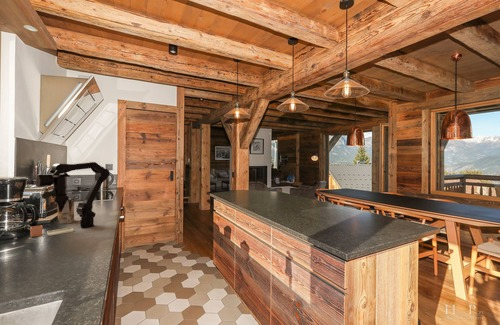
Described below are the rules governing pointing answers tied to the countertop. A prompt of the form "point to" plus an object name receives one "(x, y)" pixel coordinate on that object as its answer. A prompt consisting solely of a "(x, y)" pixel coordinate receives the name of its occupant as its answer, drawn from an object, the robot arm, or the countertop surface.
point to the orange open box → (36, 231)
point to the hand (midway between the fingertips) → (60, 211)
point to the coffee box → (68, 212)
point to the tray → (60, 231)
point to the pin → (60, 215)
